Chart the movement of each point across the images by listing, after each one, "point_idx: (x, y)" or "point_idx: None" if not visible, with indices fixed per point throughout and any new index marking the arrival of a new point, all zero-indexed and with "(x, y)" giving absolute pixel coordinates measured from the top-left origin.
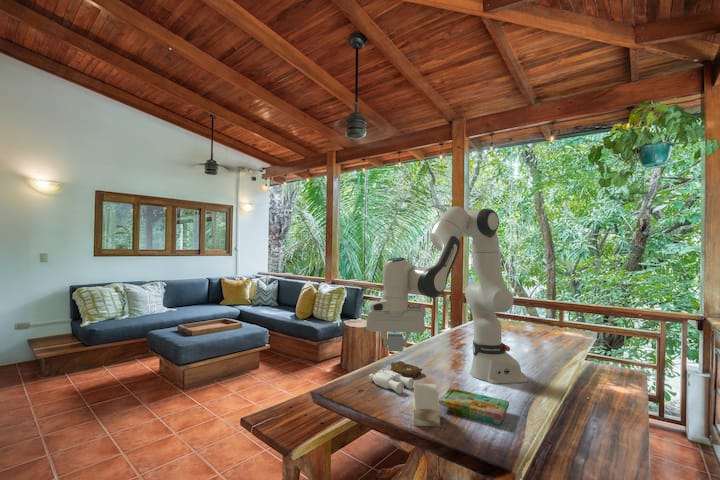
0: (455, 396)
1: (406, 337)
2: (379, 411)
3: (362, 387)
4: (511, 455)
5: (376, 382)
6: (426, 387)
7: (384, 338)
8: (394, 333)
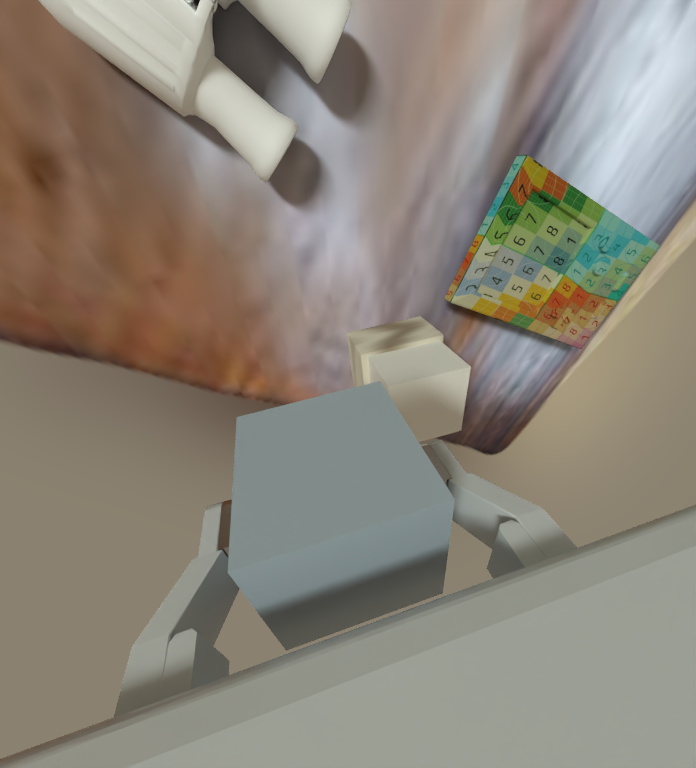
0: (515, 254)
1: (474, 533)
2: (240, 358)
3: (15, 106)
4: (519, 423)
5: (86, 43)
6: (432, 404)
7: (227, 599)
8: (342, 557)
